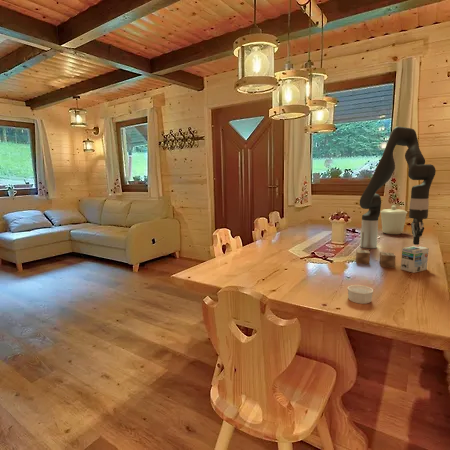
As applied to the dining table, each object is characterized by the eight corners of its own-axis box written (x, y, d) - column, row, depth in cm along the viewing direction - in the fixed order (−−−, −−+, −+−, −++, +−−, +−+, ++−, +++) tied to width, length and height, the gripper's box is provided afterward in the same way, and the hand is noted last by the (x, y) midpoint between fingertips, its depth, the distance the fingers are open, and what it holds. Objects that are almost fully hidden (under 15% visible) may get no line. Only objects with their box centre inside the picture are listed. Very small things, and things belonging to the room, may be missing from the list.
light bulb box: (413, 273, 145) (415, 250, 143) (399, 269, 151) (401, 247, 149) (427, 269, 150) (429, 247, 148) (413, 266, 156) (415, 245, 154)
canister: (373, 231, 244) (375, 204, 240) (395, 230, 246) (397, 204, 242) (388, 236, 226) (390, 207, 223) (411, 235, 228) (413, 206, 225)
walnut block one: (381, 266, 155) (381, 254, 154) (379, 263, 161) (380, 251, 160) (394, 267, 154) (395, 255, 153) (392, 264, 159) (393, 252, 158)
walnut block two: (356, 263, 162) (357, 252, 161) (355, 260, 167) (356, 249, 166) (369, 264, 160) (370, 252, 159) (368, 261, 165) (368, 249, 164)
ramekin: (346, 302, 114) (347, 291, 113) (346, 294, 122) (347, 283, 122) (373, 306, 111) (374, 294, 110) (371, 296, 119) (372, 286, 118)
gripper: (406, 206, 153) (403, 241, 155) (413, 209, 140) (410, 247, 143) (423, 206, 150) (421, 241, 153) (432, 209, 138) (429, 248, 141)
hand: (416, 244), depth 148 cm, fingers closed
